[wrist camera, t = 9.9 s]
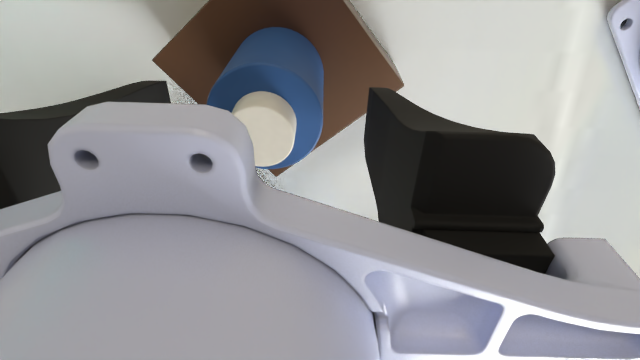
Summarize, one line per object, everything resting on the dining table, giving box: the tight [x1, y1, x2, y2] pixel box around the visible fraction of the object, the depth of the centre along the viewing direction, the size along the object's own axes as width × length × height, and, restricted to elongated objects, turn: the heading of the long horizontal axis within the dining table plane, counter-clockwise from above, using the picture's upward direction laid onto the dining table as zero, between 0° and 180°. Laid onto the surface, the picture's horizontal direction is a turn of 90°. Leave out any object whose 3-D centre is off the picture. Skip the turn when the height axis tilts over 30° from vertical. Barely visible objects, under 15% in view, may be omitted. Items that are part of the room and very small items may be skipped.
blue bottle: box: [207, 27, 324, 169], centre depth 14 cm, size 4×4×6 cm
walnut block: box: [152, 0, 404, 177], centre depth 18 cm, size 8×8×3 cm
